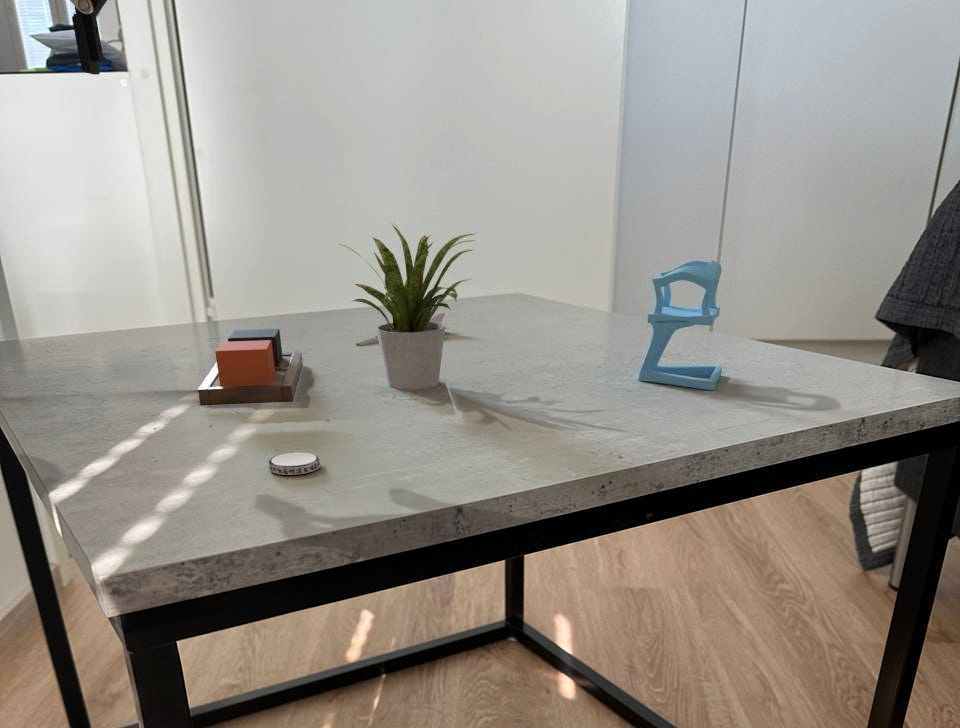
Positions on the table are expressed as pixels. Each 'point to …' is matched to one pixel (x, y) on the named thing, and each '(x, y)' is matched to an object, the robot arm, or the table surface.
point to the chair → (681, 325)
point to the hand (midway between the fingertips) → (31, 73)
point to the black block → (261, 335)
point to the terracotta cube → (245, 362)
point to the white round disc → (294, 463)
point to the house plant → (411, 315)
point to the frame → (253, 387)
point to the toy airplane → (436, 319)
